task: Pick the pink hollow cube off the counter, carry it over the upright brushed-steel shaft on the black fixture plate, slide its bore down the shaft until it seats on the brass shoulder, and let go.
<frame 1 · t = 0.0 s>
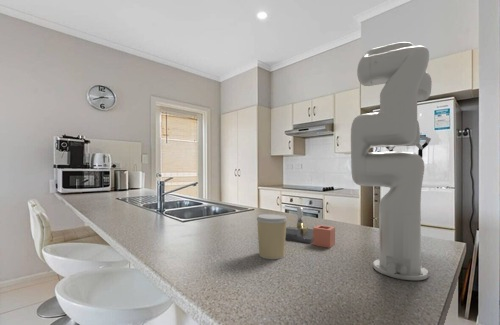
hand: (405, 159, 107), 31 cm above the countertop, fingers open, 9 cm apart
pink hollow cube: (324, 244, 92), on the countertop
shaft base: (301, 236, 103), on the countertop
coffee cup: (271, 255, 80), on the countertop
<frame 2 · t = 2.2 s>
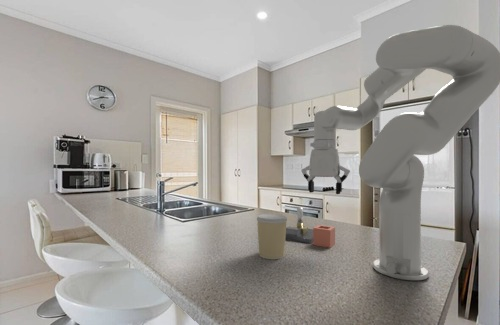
hand: (324, 193, 93), 18 cm above the countertop, fingers open, 9 cm apart
nothing on the countertop moved.
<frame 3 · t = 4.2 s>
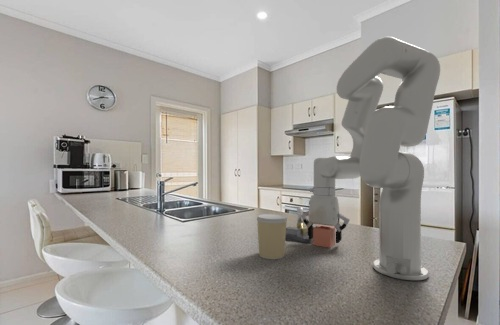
hand: (324, 240, 92), 2 cm above the countertop, fingers open, 9 cm apart
nothing on the countertop moved.
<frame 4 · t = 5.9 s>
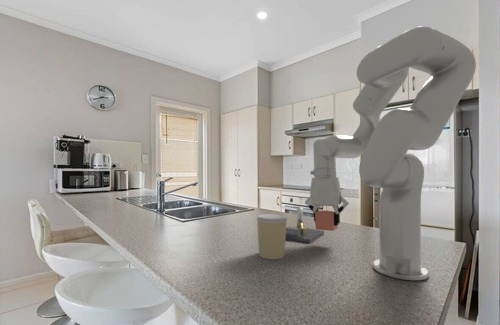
hand: (326, 223, 91), 7 cm above the countertop, fingers closed on pink hollow cube, 6 cm apart
pink hollow cube: (326, 228, 91), point 6 cm above the countertop, touching gripper
everything else where it was.
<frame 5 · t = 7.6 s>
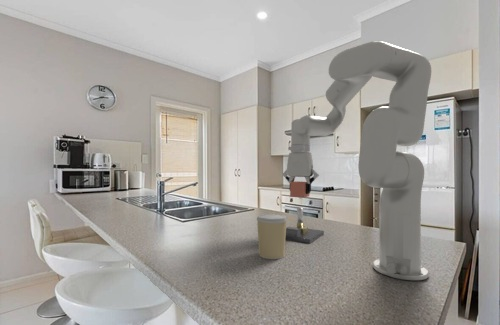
hand: (300, 192, 106), 17 cm above the countertop, fingers closed on pink hollow cube, 6 cm apart
pink hollow cube: (299, 196, 106), point 16 cm above the countertop, touching gripper
everything else where it was.
when the fingers open (5 cm above the countertop, at t = 10.3 s): pink hollow cube stays where it is, resting on shaft base.
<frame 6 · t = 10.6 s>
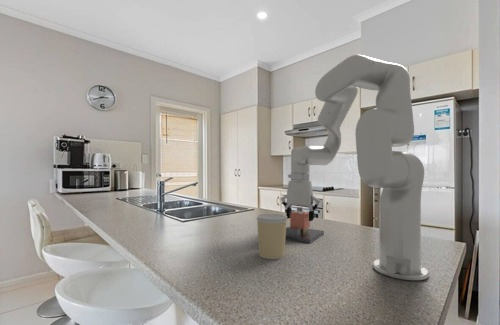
hand: (299, 219, 106), 6 cm above the countertop, fingers open, 9 cm apart
pink hollow cube: (300, 227, 105), point 3 cm above the countertop, touching shaft base
everything else where it was.
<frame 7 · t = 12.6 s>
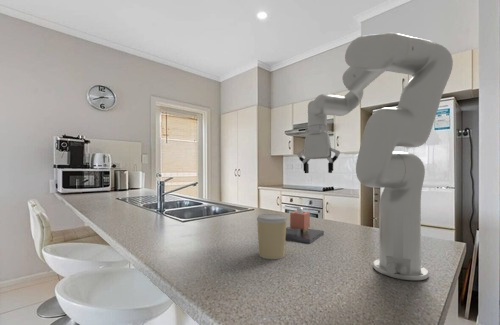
hand: (318, 173, 104), 25 cm above the countertop, fingers open, 9 cm apart
nothing on the countertop moved.
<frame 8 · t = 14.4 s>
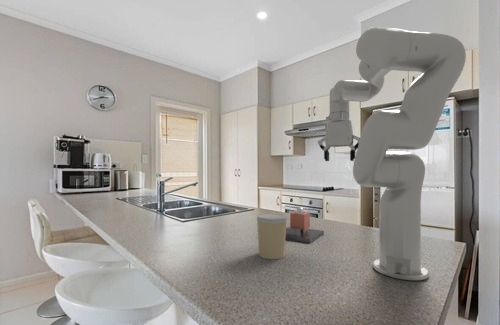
hand: (339, 160, 103), 30 cm above the countertop, fingers open, 9 cm apart
nothing on the countertop moved.
at the end: pink hollow cube 0.3 cm from the target spot on the shaft base, point 3.0 cm above the shaft base's base; pink hollow cube tilted 0°; the gripper is holding nothing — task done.
